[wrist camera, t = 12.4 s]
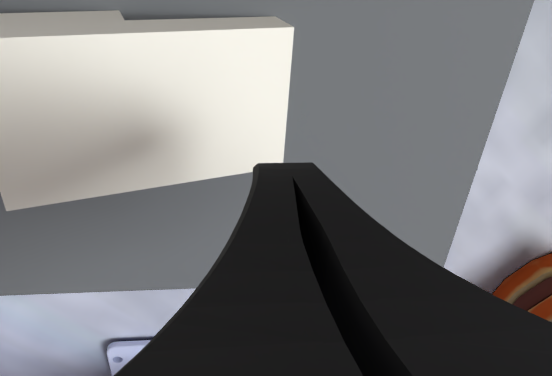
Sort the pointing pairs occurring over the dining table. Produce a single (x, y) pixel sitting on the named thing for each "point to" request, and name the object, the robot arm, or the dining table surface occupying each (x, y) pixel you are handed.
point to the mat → (297, 140)
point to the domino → (138, 104)
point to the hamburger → (530, 287)
